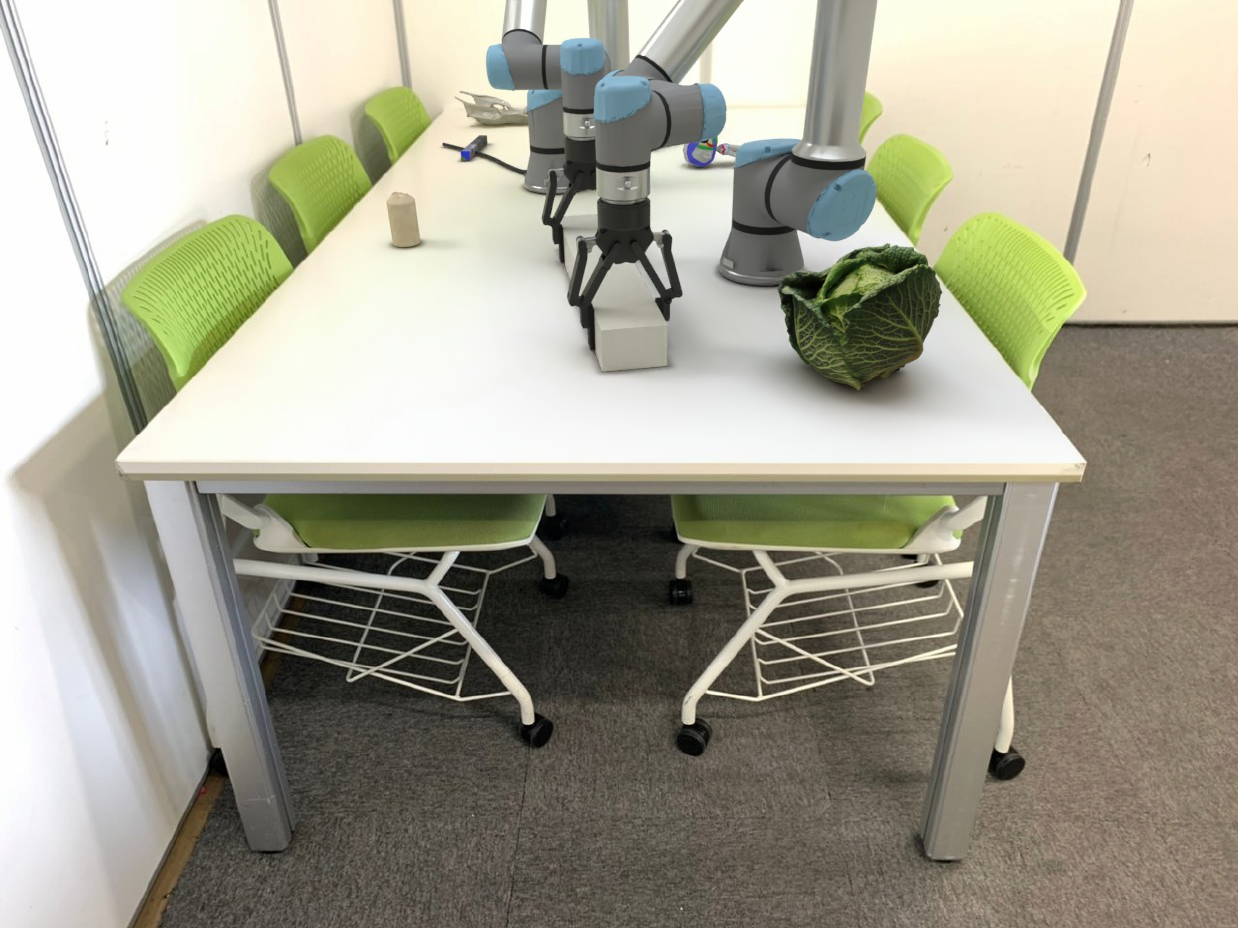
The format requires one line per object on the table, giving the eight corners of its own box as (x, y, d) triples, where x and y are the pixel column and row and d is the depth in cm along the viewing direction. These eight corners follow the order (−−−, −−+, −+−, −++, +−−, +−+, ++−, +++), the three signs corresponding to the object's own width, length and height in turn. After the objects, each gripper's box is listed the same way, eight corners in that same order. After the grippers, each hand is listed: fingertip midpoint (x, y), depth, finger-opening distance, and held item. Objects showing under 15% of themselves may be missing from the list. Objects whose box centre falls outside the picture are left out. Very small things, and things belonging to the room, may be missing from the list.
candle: (425, 240, 182) (419, 190, 176) (411, 248, 177) (404, 198, 172) (401, 237, 183) (394, 188, 178) (387, 246, 179) (379, 195, 174)
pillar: (486, 135, 252) (468, 152, 235) (487, 143, 253) (468, 161, 236) (479, 135, 252) (460, 152, 236) (480, 143, 253) (461, 160, 237)
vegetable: (807, 399, 136) (749, 288, 129) (909, 328, 138) (857, 214, 130) (877, 433, 118) (813, 305, 110) (993, 351, 119) (938, 219, 112)
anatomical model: (463, 88, 279) (541, 86, 276) (467, 119, 284) (543, 118, 281) (448, 97, 267) (529, 96, 263) (453, 130, 272) (532, 129, 268)
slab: (559, 249, 176) (557, 216, 173) (608, 246, 177) (607, 213, 174) (602, 372, 130) (601, 330, 127) (667, 366, 132) (667, 324, 128)
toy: (807, 147, 224) (690, 133, 219) (799, 181, 228) (684, 168, 224) (796, 138, 233) (684, 124, 228) (789, 171, 237) (678, 158, 232)
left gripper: (523, 144, 153) (532, 269, 165) (651, 137, 156) (651, 260, 168) (520, 134, 160) (528, 256, 172) (643, 128, 163) (643, 247, 175)
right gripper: (546, 210, 121) (555, 360, 133) (708, 199, 124) (702, 347, 136) (541, 195, 127) (550, 339, 139) (695, 185, 130) (690, 327, 142)
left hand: (589, 258), depth 170 cm, fingers closed on slab, 10 cm apart
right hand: (625, 343), depth 137 cm, fingers closed on slab, 10 cm apart
